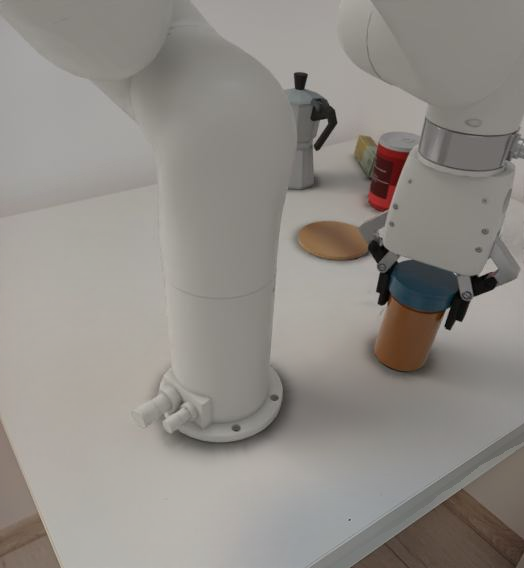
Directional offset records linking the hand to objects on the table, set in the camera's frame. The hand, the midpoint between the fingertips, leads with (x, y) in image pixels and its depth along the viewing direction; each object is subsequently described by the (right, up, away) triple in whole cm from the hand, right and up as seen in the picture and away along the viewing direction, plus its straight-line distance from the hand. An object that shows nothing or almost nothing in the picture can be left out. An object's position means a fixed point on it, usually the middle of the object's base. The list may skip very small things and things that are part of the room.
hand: (417, 309), depth 56 cm
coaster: (-6, +12, +23) cm, 27 cm away
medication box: (+4, +32, +46) cm, 56 cm away
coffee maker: (-11, +27, +40) cm, 49 cm away
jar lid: (0, +3, -3) cm, 4 cm away
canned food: (+5, +21, +34) cm, 41 cm away
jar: (-1, -5, +4) cm, 6 cm away
